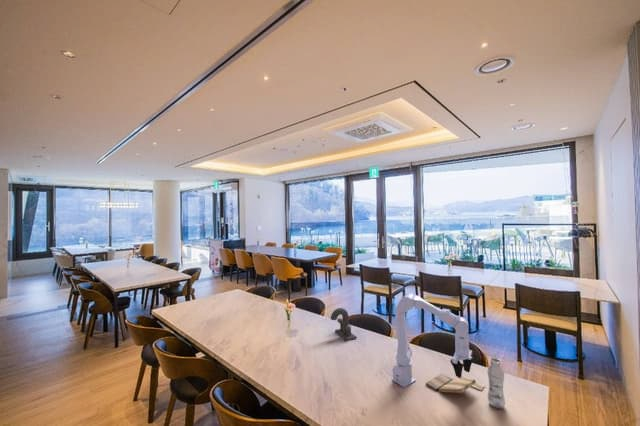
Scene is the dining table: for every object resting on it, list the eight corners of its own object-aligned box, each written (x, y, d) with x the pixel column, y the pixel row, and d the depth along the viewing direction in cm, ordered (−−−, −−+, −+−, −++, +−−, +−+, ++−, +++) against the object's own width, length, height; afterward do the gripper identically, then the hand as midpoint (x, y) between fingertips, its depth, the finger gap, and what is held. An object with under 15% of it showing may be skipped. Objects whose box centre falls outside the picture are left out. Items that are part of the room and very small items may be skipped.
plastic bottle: (498, 400, 124) (497, 356, 124) (509, 410, 117) (507, 363, 117) (484, 400, 124) (483, 356, 124) (494, 411, 117) (493, 364, 117)
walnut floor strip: (436, 391, 131) (436, 388, 131) (425, 385, 136) (425, 382, 136) (452, 381, 139) (452, 378, 139) (441, 375, 144) (441, 373, 144)
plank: (481, 392, 131) (481, 389, 131) (455, 381, 139) (455, 379, 139) (484, 387, 134) (484, 385, 134) (458, 377, 143) (458, 375, 143)
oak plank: (461, 392, 121) (460, 389, 122) (439, 391, 130) (438, 388, 131) (475, 382, 129) (474, 379, 129) (453, 382, 138) (452, 379, 138)
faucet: (325, 333, 198) (325, 305, 199) (344, 329, 205) (343, 302, 205) (337, 343, 182) (337, 313, 182) (357, 339, 188) (357, 310, 189)
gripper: (462, 352, 121) (463, 383, 120) (478, 343, 129) (479, 372, 129) (447, 346, 126) (448, 376, 126) (463, 338, 135) (464, 366, 134)
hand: (462, 374), depth 128 cm, fingers open, 7 cm apart
